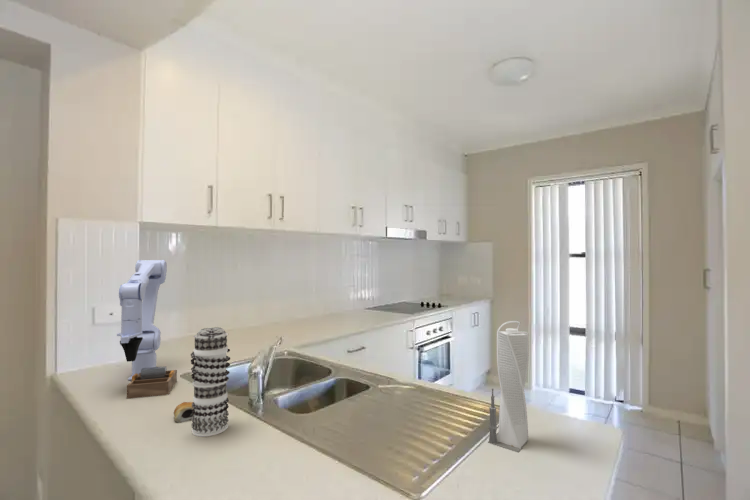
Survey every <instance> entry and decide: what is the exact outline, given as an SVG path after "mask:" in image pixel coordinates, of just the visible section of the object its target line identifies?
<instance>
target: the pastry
mask: <svg viewBox="0 0 750 500" xmlns="http://www.w3.org/2000/svg"><path fill="white" fill-rule="evenodd" d="M192 403H193V401H183V402H181V403H180V404H178V405H176V407H175V408H174V410H173V415H174V418H173V419H174V421H175V422H176V423H182V422H188V421H192V419H191V418H192V416H193V415H194V414H192V409H194V408H193V407H192Z"/></svg>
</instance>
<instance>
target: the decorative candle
mask: <svg viewBox="0 0 750 500" xmlns="http://www.w3.org/2000/svg"><path fill="white" fill-rule="evenodd" d="M225 330H226V329H224V328H221V327H218V326H217V327H216V326H215V327H204V328H201V329H200V330H198V331H197V333H196V334H195V335H194V336H193V338H194V348H193V351H192V352H191V353H190V358H191V359H190V364H191V365H192V367H191V368H190V370H191V379H192V380H193V381H191V382H192V386H193V396H192V397H193V398H192V402H193V403H192V407H193V408H194V409H192V414H194V415H193V416H192V418H191V419H192V420H191V421H192V422H191V428H192V429H191V432H192V433H191V434H192V435H193V436H196V437H202V438H203V437H211V436H216V435H219V434H221V433H223V432H225V431H227V429H228V427H229V423H228V422H229V417H228V416H229V410H228V409H229V404H228V403H229V397H228V391H227V388H228V387H227V386H228V385H227V383H228V382H229V379H230V377H228V375H229V374H230V371H229V370H228V369H227V368H229V367H230V366H231V363H230V362H229V361H230V360H231V357H230V356H228V355H227V354H228V353H229V352H230V351H231V350H230V348H229V346H228V344H227V343H228V338H227V337H228V336H229V333H228V332H226V331H225Z"/></svg>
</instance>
